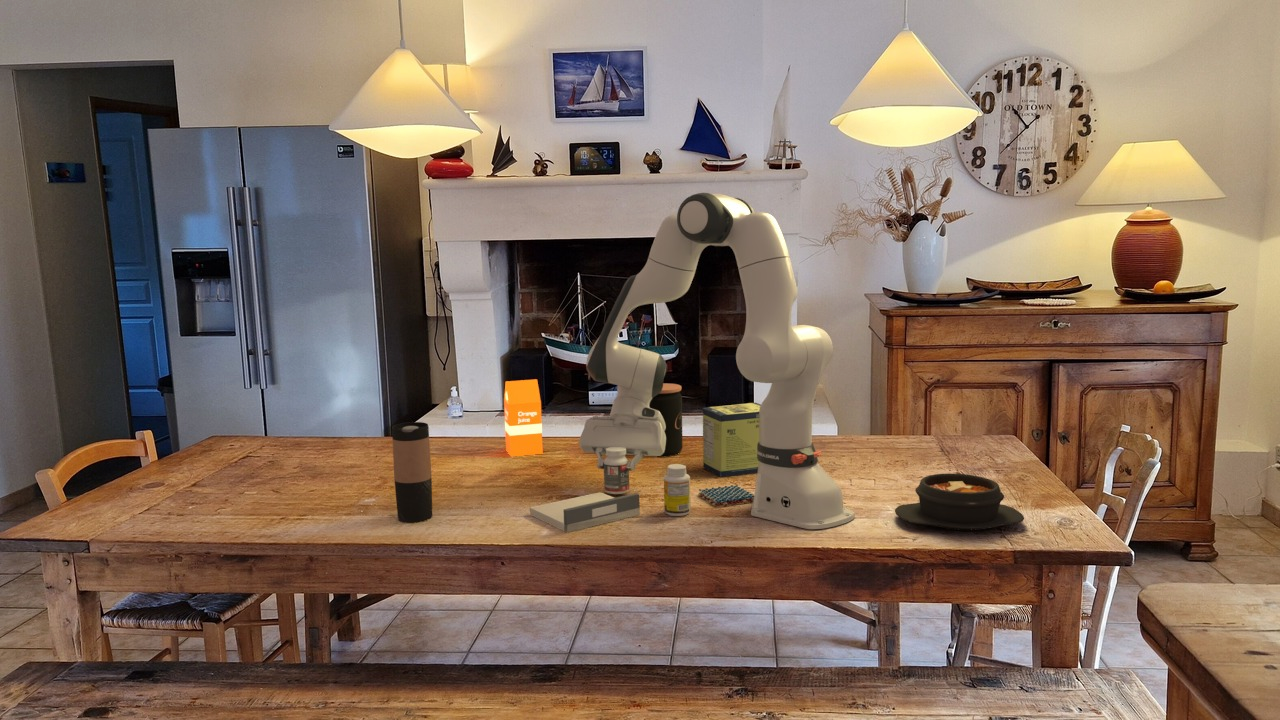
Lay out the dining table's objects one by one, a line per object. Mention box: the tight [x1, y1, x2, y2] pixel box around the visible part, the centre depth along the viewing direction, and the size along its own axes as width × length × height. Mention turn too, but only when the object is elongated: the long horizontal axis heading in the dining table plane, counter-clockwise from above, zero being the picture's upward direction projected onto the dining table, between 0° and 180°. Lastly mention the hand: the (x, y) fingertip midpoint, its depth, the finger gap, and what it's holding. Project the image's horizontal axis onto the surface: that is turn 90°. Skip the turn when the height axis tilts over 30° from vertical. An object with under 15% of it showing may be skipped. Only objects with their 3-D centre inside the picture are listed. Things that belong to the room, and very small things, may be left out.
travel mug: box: [391, 421, 433, 524], centre depth 196 cm, size 8×8×20 cm
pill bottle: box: [603, 447, 630, 495], centre depth 212 cm, size 6×6×10 cm
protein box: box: [702, 402, 762, 478], centre depth 231 cm, size 10×16×16 cm
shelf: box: [529, 491, 641, 533], centre depth 197 cm, size 15×18×4 cm
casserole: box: [894, 473, 1025, 532], centre depth 188 cm, size 25×19×8 cm
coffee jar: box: [649, 382, 683, 457], centre depth 249 cm, size 11×11×18 cm
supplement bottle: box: [663, 463, 691, 517], centre depth 197 cm, size 6×6×10 cm
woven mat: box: [697, 484, 754, 508], centre depth 207 cm, size 10×11×2 cm
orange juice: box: [503, 378, 544, 457], centre depth 251 cm, size 8×9×20 cm
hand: (615, 468), depth 211 cm, fingers closed on pill bottle, 6 cm apart
